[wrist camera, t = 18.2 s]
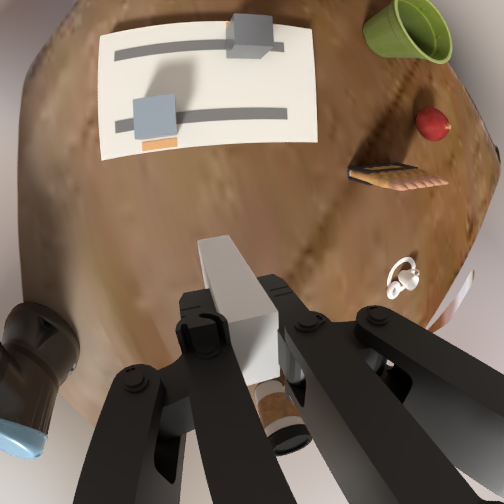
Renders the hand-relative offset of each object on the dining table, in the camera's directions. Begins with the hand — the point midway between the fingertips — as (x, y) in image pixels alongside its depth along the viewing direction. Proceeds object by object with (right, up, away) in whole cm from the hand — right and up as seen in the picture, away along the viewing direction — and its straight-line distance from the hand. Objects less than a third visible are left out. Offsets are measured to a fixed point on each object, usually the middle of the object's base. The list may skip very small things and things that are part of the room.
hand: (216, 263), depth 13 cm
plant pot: (+22, +35, +17) cm, 45 cm away
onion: (+30, +23, +24) cm, 45 cm away
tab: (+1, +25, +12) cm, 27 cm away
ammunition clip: (+21, +13, +26) cm, 36 cm away
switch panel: (-4, +21, +16) cm, 26 cm away
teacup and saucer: (+28, -4, +36) cm, 46 cm away
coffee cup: (+5, -27, +39) cm, 48 cm away
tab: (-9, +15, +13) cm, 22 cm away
